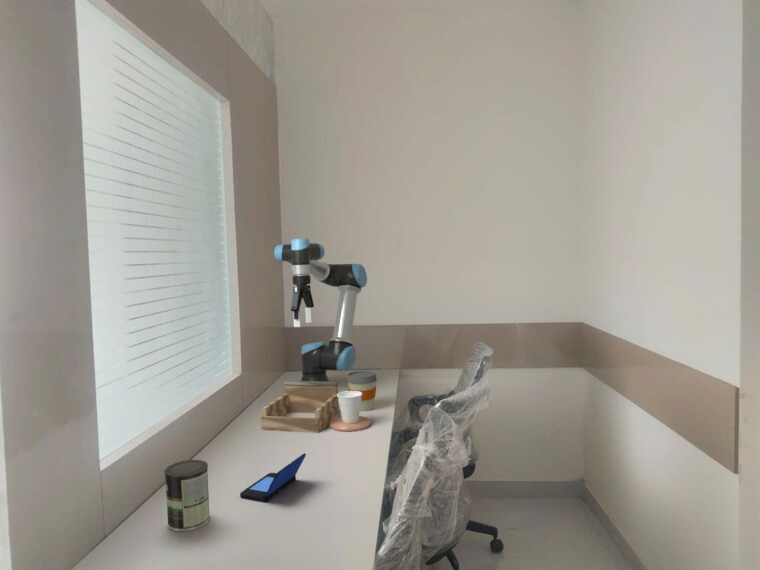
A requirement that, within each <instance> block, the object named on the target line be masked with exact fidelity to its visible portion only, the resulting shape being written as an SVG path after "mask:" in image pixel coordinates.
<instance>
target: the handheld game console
mask: <svg viewBox="0 0 760 570" xmlns="http://www.w3.org/2000/svg"><path fill="white" fill-rule="evenodd" d="M305 457H306V453H302V454H301V455H300V456H299V457H297V458H296V459H294V460H293V461H291V462H290V463H288V464H287V465H286V466H284V467H283V468H282V469H280V470H278V471H277V472H269V473H267V474H266V475H264V476H262V477H261V478H260V479H259V480H257V481H255V482H254V483H252V484H251V485H249V486H248V487H246V488H245V489H244V490H242V491H241V492H240V493H239V496H240V498H241V499H245V500H251V501H257V502H262V503H268V502H269V501H270V500H271V499H273V498H274V497H275V496H277V495H278V494H279V492H280V491H282V490H284V489H287V487H289V486H290V485H291V484H292V483H294V482H295V481H296V479H297V477H296V475H297V472H298V471H299V469H300V467H301V465H302V463H303V462H304V460H305Z"/></svg>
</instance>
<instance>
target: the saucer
mask: <svg viewBox="0 0 760 570" xmlns="http://www.w3.org/2000/svg"><path fill="white" fill-rule="evenodd" d="M370 425H371V426H372V420H371V418H369V417H366V416H362V415H359V420H358V422H357V423H354V424H345V423H344V422H343V421H342V416H339V417H336V418H335V417H334V418H333V419H332V420H331V421H330V422H329V427H330V429H331V430H332V431H333V430H334V431H337V432H341V433H342V432H343V433H344V432H345V433H346V432H347V433H350V432H352V431H353V432H359V431H358V430H360V431H363V429H364V430H366V428H367V429H368V427H369V426H370ZM371 426H370V427H371ZM370 427H369V428H370Z"/></svg>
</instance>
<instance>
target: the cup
mask: <svg viewBox="0 0 760 570" xmlns="http://www.w3.org/2000/svg"><path fill="white" fill-rule="evenodd" d="M337 396H338V407H339V410H340V415H341V417H342V421H343V422H344V423H345V424H354V423H357V422H358V420H359V416H360V404H361V397H362V393H361V392H359V391H348V390H345V391H344V390H343V391H340V392H338V394H337Z"/></svg>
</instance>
